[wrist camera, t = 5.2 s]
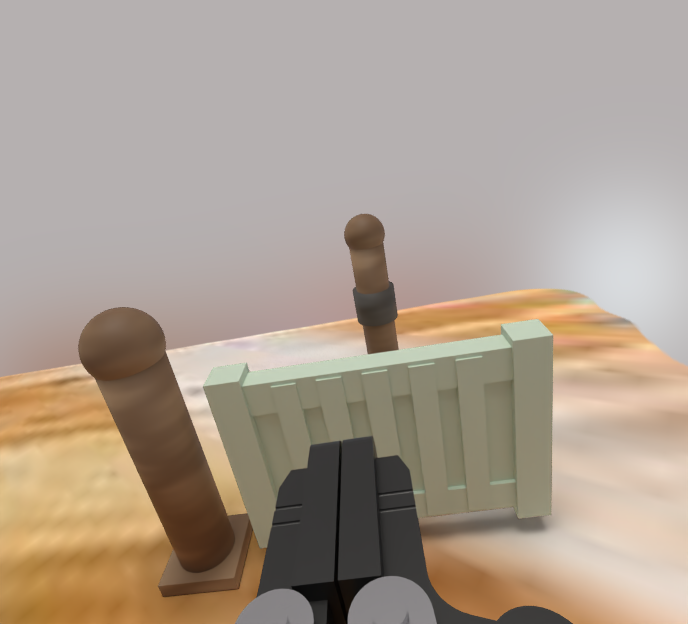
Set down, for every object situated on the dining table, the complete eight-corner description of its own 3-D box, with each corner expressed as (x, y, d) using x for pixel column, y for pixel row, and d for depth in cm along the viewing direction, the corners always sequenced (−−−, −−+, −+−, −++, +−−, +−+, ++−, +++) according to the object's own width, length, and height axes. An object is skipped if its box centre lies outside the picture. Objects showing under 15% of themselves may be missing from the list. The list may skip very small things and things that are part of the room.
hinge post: (163, 596, 23) (33, 339, 17) (189, 530, 26) (90, 300, 21) (238, 588, 22) (132, 323, 17) (254, 522, 26) (171, 287, 20)
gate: (260, 548, 23) (202, 386, 19) (265, 522, 24) (213, 367, 21) (551, 514, 22) (553, 335, 18) (538, 490, 23) (537, 318, 19)
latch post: (366, 411, 34) (331, 225, 29) (364, 383, 38) (333, 213, 32) (417, 404, 34) (392, 215, 28) (411, 376, 38) (387, 204, 32)
